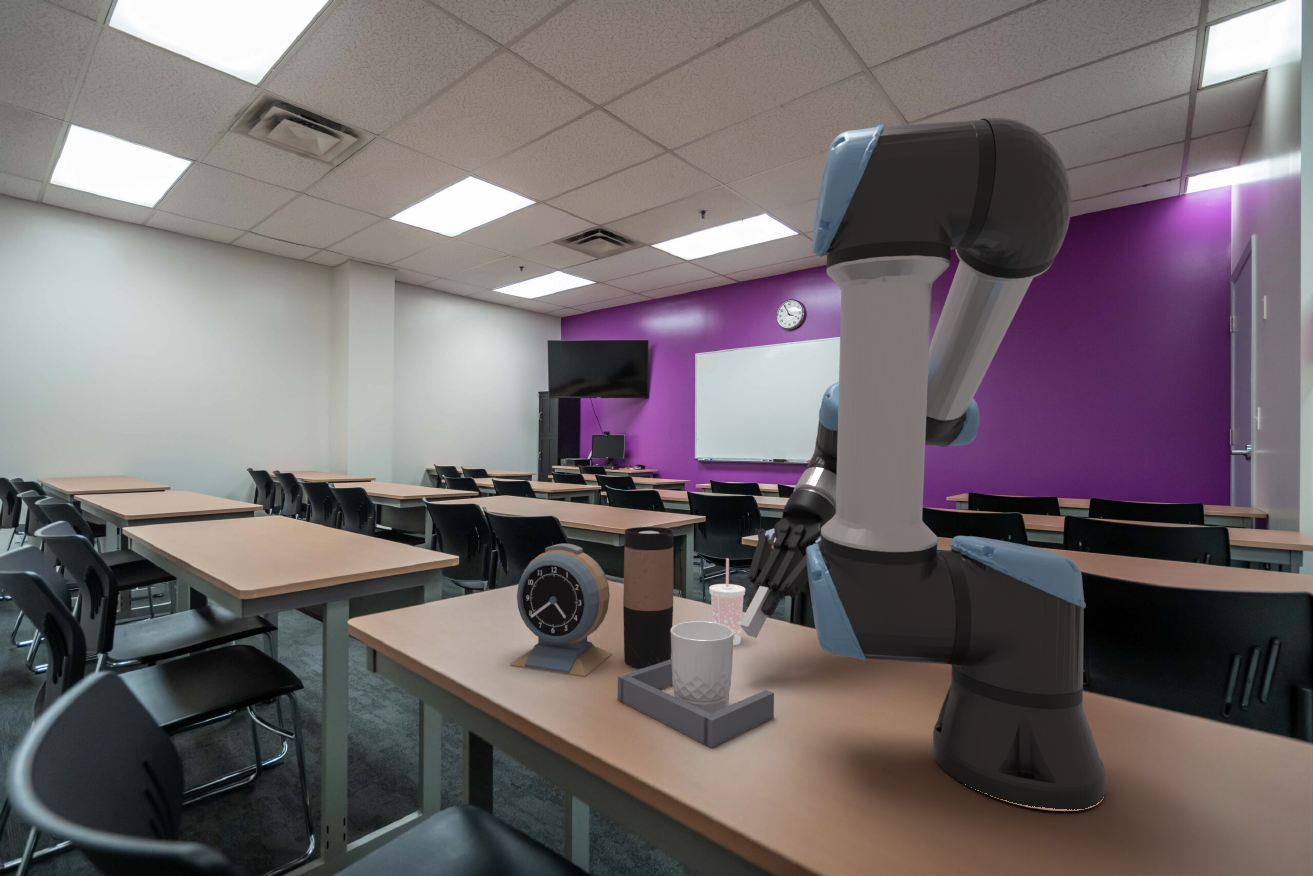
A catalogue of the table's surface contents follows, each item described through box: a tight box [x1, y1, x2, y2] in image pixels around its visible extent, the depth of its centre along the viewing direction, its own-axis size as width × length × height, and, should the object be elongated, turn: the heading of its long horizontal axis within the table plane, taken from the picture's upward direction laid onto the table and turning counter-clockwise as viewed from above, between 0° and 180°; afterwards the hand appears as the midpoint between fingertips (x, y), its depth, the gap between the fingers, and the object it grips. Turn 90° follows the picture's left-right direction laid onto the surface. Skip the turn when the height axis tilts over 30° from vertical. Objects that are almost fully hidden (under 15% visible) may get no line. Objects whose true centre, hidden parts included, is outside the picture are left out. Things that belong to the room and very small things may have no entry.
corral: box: [617, 659, 775, 749], centre depth 75 cm, size 11×16×3 cm
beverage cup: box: [708, 557, 746, 646], centre depth 101 cm, size 6×6×14 cm
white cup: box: [671, 620, 734, 714], centre depth 74 cm, size 8×8×10 cm
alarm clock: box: [509, 543, 613, 678], centre depth 91 cm, size 14×10×18 cm
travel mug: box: [622, 526, 675, 670], centre depth 91 cm, size 8×8×20 cm
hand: (748, 631), depth 82 cm, fingers closed
